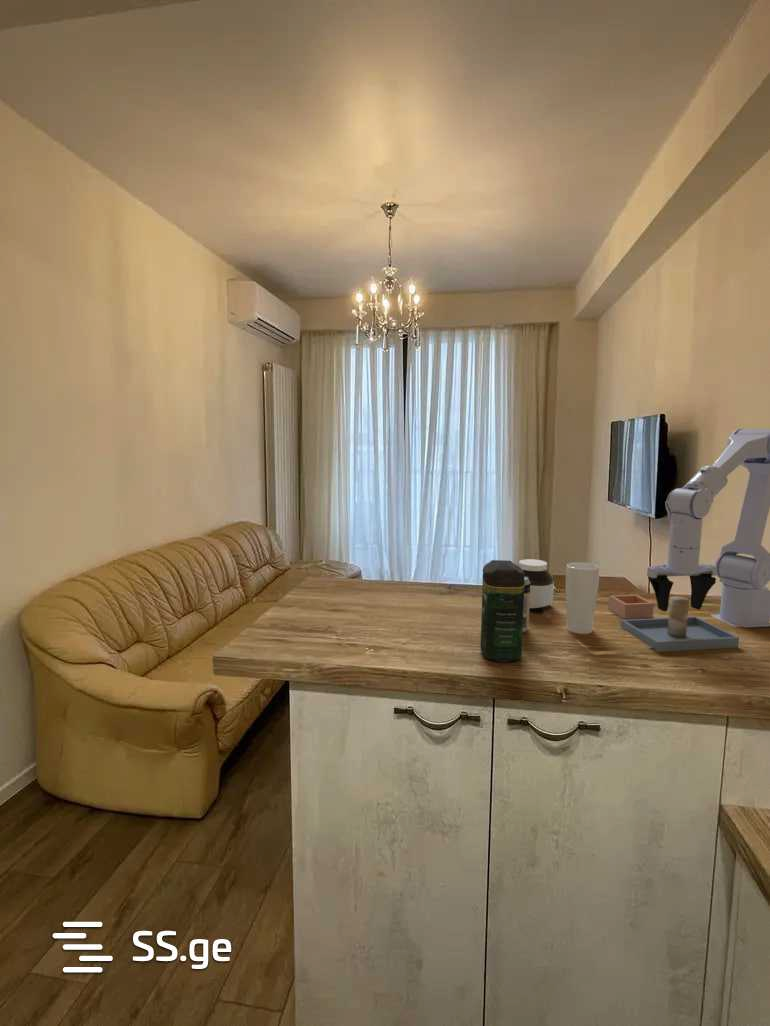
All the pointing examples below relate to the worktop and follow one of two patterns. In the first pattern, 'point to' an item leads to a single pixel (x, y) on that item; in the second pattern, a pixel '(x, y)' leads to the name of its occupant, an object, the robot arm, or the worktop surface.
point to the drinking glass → (581, 596)
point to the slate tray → (696, 638)
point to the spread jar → (538, 584)
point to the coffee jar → (502, 611)
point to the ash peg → (678, 617)
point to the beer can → (526, 605)
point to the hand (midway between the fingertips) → (679, 608)
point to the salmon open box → (630, 606)
